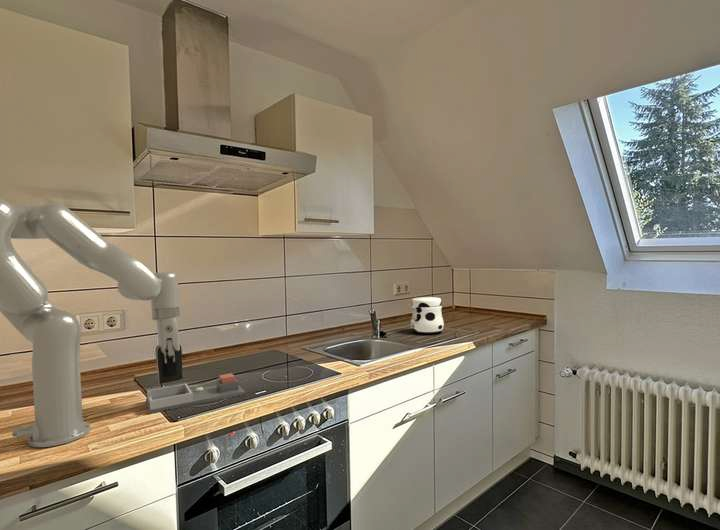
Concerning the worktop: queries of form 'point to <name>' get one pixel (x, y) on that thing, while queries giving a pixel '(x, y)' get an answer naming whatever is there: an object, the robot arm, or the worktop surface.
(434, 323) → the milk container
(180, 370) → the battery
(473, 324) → the worktop surface
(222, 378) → the red cube
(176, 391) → the charging dock
